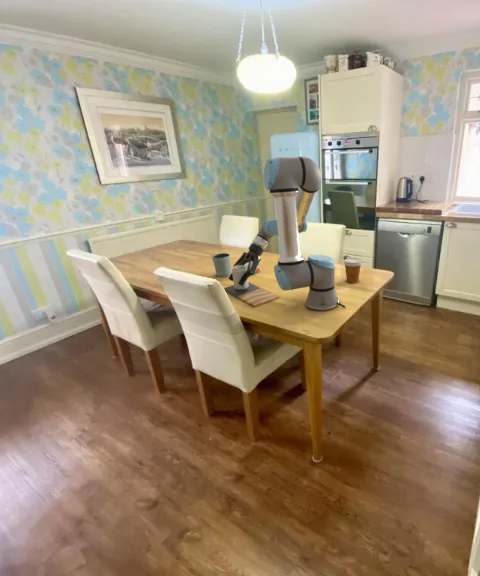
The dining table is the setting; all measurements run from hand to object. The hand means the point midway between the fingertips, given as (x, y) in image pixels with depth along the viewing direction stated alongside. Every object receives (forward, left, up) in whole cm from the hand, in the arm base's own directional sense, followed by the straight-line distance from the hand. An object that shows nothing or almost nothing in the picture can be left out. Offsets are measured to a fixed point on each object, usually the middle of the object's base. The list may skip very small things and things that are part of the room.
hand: (235, 282), depth 165 cm
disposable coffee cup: (-35, -52, -5) cm, 63 cm away
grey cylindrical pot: (+29, -8, -5) cm, 31 cm away
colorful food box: (+17, -20, -5) cm, 27 cm away
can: (0, -3, -4) cm, 5 cm away
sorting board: (-8, -3, -5) cm, 10 cm away
